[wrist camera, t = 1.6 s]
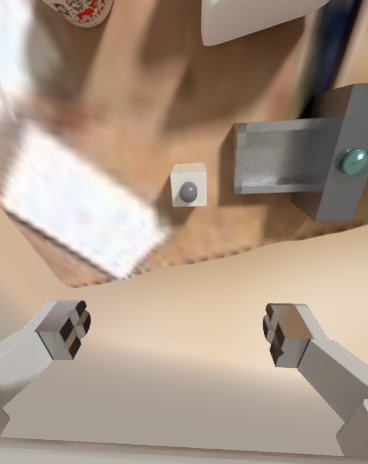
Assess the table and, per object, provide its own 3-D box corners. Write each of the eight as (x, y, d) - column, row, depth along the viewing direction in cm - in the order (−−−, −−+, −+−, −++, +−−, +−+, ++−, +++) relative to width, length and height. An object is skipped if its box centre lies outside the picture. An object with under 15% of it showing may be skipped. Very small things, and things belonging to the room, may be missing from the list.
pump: (204, 162, 33) (206, 174, 25) (205, 191, 36) (207, 210, 28) (175, 164, 34) (168, 176, 26) (177, 192, 36) (171, 212, 28)
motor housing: (352, 91, 28) (416, 77, 19) (321, 201, 35) (358, 224, 27) (235, 100, 29) (249, 90, 21) (229, 204, 36) (238, 226, 28)
